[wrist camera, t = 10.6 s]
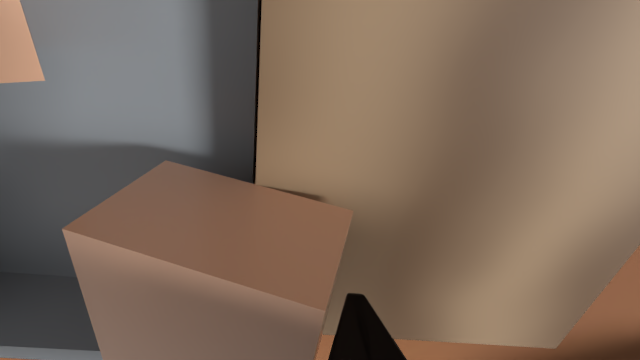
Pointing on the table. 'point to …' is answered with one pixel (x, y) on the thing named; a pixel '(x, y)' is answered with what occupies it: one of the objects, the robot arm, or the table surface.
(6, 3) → the tile
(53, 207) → the tray
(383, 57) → the board
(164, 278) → the peach square block
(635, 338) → the table surface
